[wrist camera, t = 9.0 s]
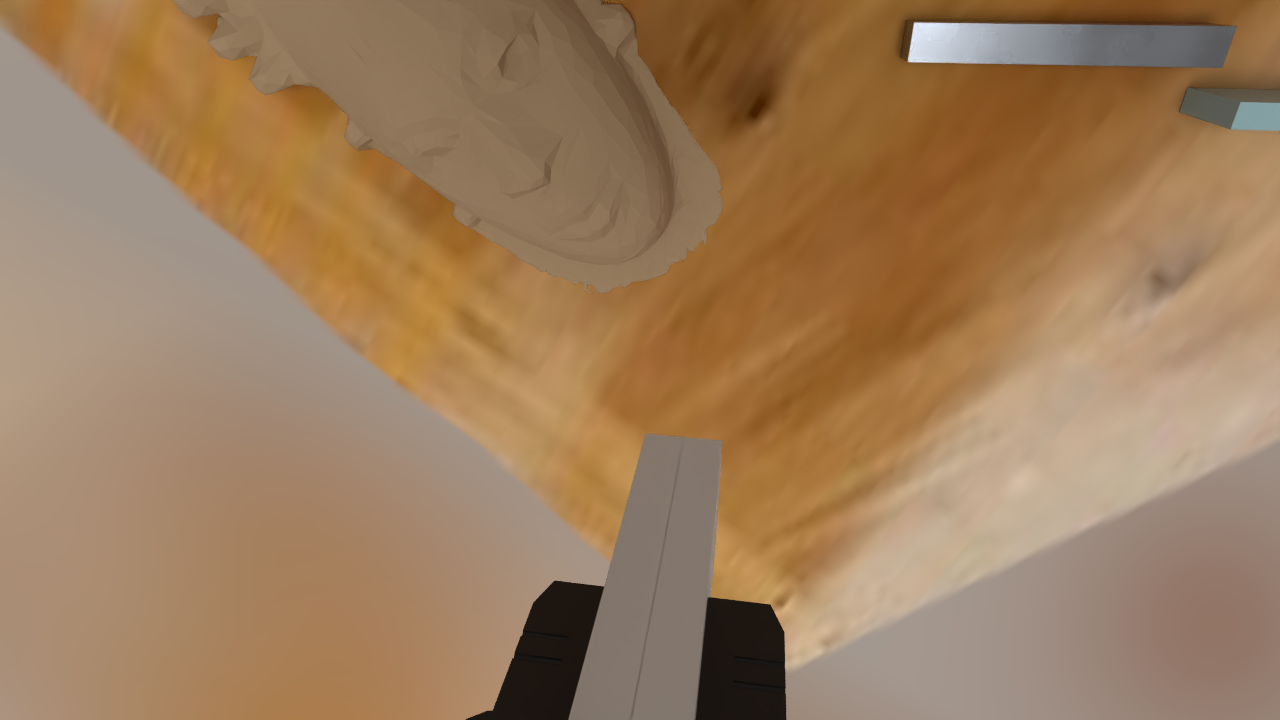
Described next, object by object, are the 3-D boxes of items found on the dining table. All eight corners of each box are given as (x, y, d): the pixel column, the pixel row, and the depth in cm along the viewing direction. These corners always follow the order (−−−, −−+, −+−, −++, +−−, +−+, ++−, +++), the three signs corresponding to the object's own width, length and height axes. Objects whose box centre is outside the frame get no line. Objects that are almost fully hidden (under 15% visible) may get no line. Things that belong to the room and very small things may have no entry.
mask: (587, 413, 36) (43, -28, 30) (615, 350, 42) (163, -30, 36) (811, 200, 29) (160, -428, 23) (807, 160, 35) (286, -351, 29)
